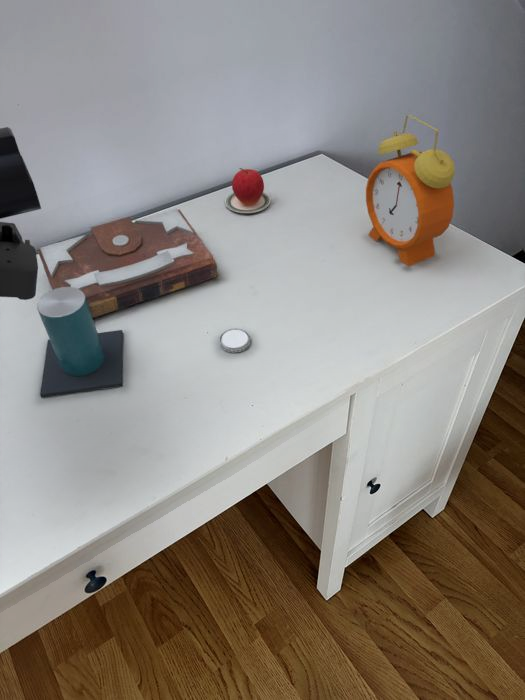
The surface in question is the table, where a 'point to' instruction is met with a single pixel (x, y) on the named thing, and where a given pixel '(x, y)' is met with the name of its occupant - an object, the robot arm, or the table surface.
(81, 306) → the can
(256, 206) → the apple
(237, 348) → the bottle cap
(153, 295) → the book
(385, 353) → the table surface
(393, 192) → the alarm clock
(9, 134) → the robot arm
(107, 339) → the mat
